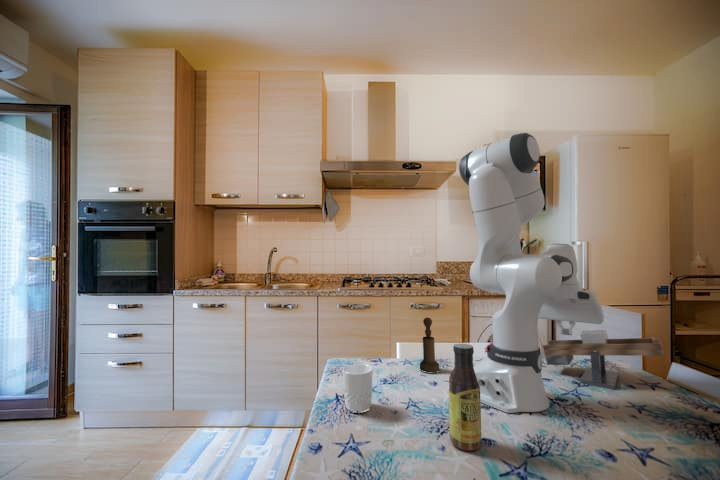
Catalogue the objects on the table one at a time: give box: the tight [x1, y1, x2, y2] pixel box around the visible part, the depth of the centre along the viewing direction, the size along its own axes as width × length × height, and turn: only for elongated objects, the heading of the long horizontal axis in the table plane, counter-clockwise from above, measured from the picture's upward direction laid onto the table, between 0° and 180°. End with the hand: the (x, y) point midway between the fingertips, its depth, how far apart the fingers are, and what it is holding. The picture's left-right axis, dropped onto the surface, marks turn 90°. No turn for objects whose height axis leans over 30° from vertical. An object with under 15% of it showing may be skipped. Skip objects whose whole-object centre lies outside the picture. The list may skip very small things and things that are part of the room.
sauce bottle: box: [448, 343, 482, 452], centre depth 65 cm, size 7×6×20 cm
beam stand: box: [579, 351, 619, 390], centre depth 96 cm, size 8×14×10 cm, turn 137°
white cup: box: [342, 363, 373, 411], centre depth 81 cm, size 8×8×10 cm
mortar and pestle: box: [419, 317, 440, 372], centre depth 108 cm, size 7×6×18 cm
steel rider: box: [579, 329, 610, 344], centre depth 97 cm, size 6×6×4 cm
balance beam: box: [542, 334, 665, 366], centre depth 96 cm, size 29×10×7 cm, turn 47°
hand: (566, 334), depth 102 cm, fingers closed
